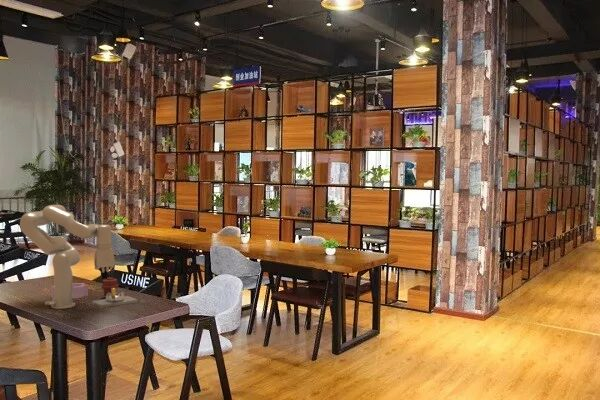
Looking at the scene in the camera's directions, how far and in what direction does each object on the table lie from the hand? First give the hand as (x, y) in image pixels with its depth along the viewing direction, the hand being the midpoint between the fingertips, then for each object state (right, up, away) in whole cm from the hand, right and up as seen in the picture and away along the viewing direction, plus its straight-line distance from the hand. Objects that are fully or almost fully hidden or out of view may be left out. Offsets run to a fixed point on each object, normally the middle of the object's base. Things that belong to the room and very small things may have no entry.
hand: (104, 279), depth 301 cm
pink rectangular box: (-32, -15, +28) cm, 45 cm away
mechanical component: (-6, -16, +26) cm, 31 cm away
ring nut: (+2, -15, +12) cm, 19 cm away
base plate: (+1, -16, +14) cm, 22 cm away
